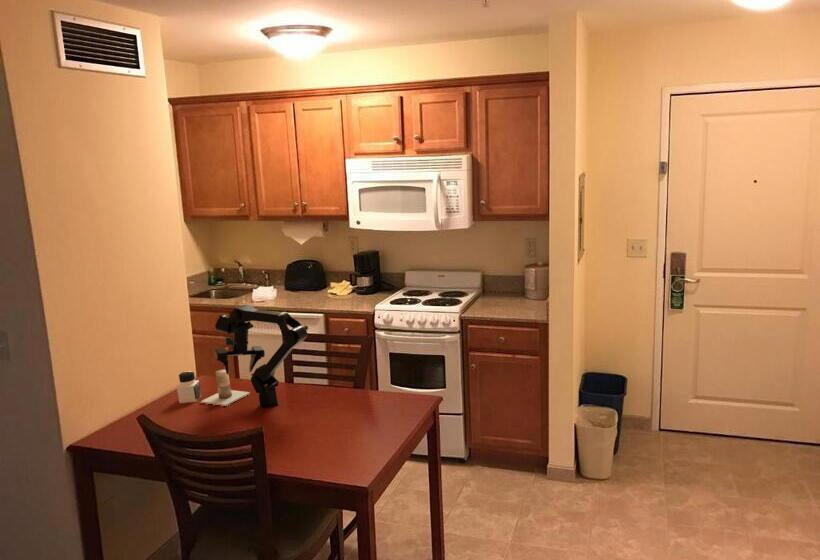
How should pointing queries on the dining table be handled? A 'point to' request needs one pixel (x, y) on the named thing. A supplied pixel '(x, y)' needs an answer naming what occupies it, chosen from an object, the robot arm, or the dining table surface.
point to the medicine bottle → (188, 388)
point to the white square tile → (225, 402)
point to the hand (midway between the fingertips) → (238, 372)
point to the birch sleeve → (223, 384)
